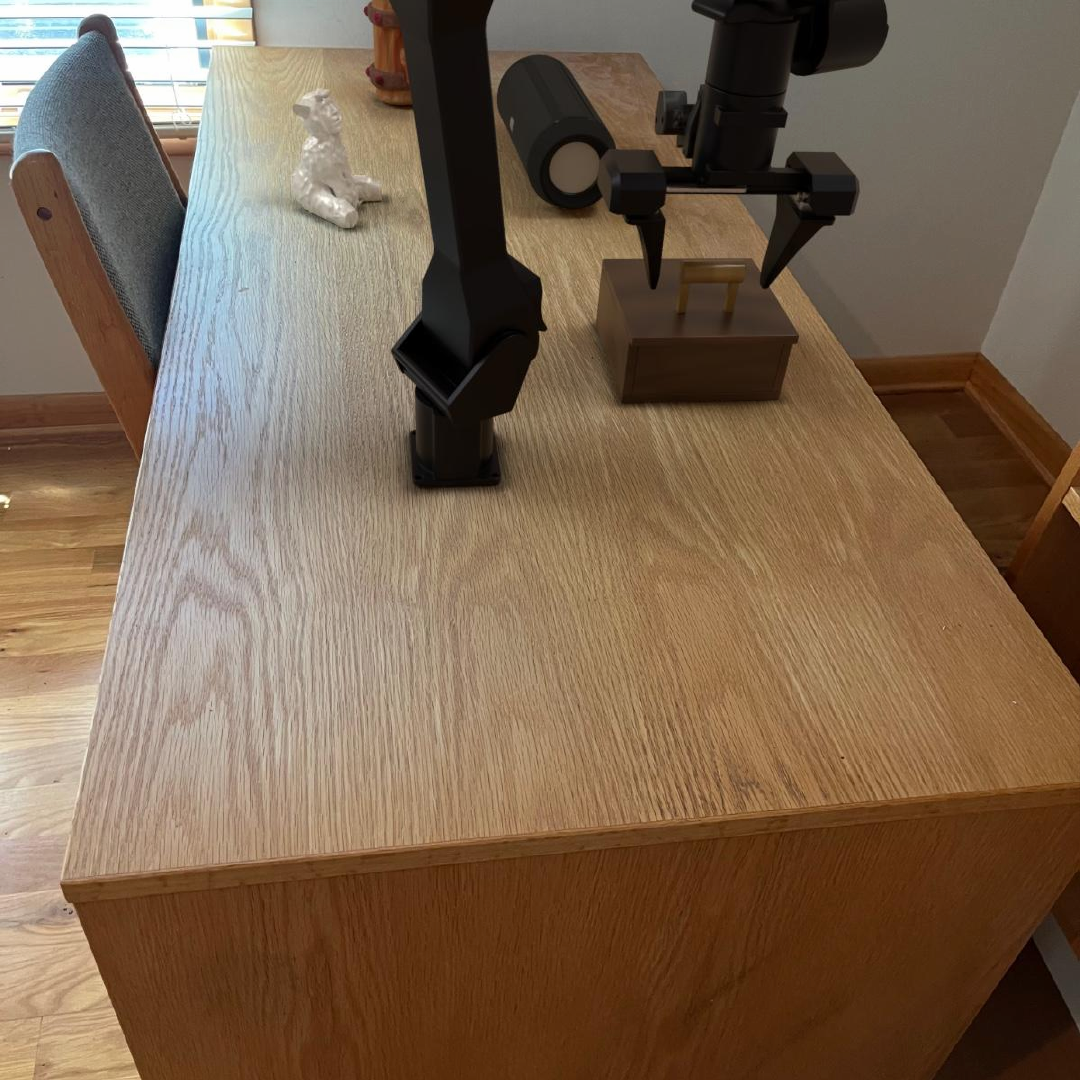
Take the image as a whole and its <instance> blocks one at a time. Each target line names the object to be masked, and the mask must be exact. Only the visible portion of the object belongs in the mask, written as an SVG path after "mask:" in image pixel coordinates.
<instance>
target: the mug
mask: <svg viewBox="0 0 1080 1080" xmlns="http://www.w3.org/2000/svg"><path fill="white" fill-rule="evenodd" d="M363 13H364V15H365V16H366V17H367V18H368V20H369V22H370V23H371V24H372V35H373V51H374V52H373V53H374V57H373V58H374V62H372V63H371V64H370V65H369V66H367V68H366V69H365V74H366V76H367V77H368V78H369V80H370V81H369V82H370V83H371V84H372V85H373V86H374V87H375V92H376V95H377V98H378V100H379V101H381V102H382V103H385V104H388V105H392V106H395V105H397V106H405V105H406V106H407V105H409V106H410V105H412V98H411V91H410V85H409V78H408V71H407V65H406V58H405V51H404V45H403V38H402V31H401V27H400V24H399V21H398V19H397V16H396V14H395V12H394V10H393V8H392V6H391V4H390V2H389V0H371V1H369V2H368V3H367V5H366V6H364V7H363Z"/></svg>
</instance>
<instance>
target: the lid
mask: <svg viewBox="0 0 1080 1080" xmlns="http://www.w3.org/2000/svg"><path fill="white" fill-rule="evenodd" d="M602 268H603V271H604V274H605V276H606V279H607V282H608V284H609V287H610V290H611V292H612V295H613V298H614V300H615V303H616V306H617V309H618V311H619V314H620V317H621V319H622V322H623V325H624V327H625V330H626V333H627V335H628V338H629V341H630V343H631V346H684V345H746V344H793V345H796V344H798V342H799V339H800V334H799V332H798V330H797V329H796V327H795V326H794V324H793V322H792V321H791V319H790V318H789V316H788V314H787V312H786V311H785V310H784V308H783V306H782V305H781V303H780V301H779V299H778V298H777V296H776V294H775V293H774V291H773V290H772V288H771V287H770V286H769V288H768V289H763V288H762V287H761V285H760V275H761V269H759V267H758V265H757V263H756V262H755V260H754V259H753V258H752V257H706V258H705V257H704V258H702V257H697V258H696V257H695V258H691V257H690V258H677V257H675V258H673V257H672V258H669V257H668V258H662V260H661V269H660V277H659V280H658V284H657V287H656V289H655V290H651V288H650V286H649V283H648V279H647V274H646V268H645V263H644V258H602V261H601V269H602Z"/></svg>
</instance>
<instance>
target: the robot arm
mask: <svg viewBox="0 0 1080 1080" xmlns="http://www.w3.org/2000/svg"><path fill="white" fill-rule="evenodd" d="M389 2H390V4H391V6H392V8H393V10H394V12H395V14H396V16H397V19H398V21H399V24H400V27H401V31H402V38H403V45H404V51H405V58H406V65H407V71H408V78H409V85H410V91H411V98H412V104H411V105H412V111H413V117H414V124H415V129H416V137H417V138H416V139H417V144H418V152H419V158H420V165H421V171H422V177H423V184H424V191H425V197H426V204H427V210H428V211H427V212H428V217H429V225H430V230H431V231H430V232H431V237H432V244H433V245H432V246H433V250H432V251H433V253H432V256H431V259H430V261H429V263H428V266H427V268H426V271H425V272H424V275H423V277H422V280H421V310H420V312H419V313H418V314H417V315H416V317H415V318H414V319H413V321H412V322H411V323H410V324H409V326H408V327H407V328H406V330H405V331H404V332H403V333H402V335H401V336H400V338H398V339H397V341H396V342H395V344H394V345H393V346H392V348H391V349H390V354H391V356H392V358H393V360H394V362H395V365H396V367H397V369H398V370H399V372H400V373H401V374H403V375H405V376H406V377H407V378H408V379H409V380H410V381H411V382H412V383H413V384H414V385H415V387H414V412H415V413H414V414H415V415H414V417H415V419H414V420H415V429H413V430H410V431H409V446H410V462H411V463H410V464H411V479H412V481H411V482H412V485H414V486H416V487H436V486H442V487H443V486H468V485H469V486H470V485H471V486H472V485H496V484H499V483H501V481H502V472H501V471H502V470H501V466H500V465H501V464H500V459H499V452H498V447H497V441H496V436H495V430H494V425H495V423H494V420H495V418H496V417H498V416H501V415H504V414H508V413H510V412H512V411H513V410H514V408H515V407H516V403H517V400H518V398H519V395H520V392H521V390H522V388H523V384H524V382H525V379H526V376H527V374H528V372H529V369H530V366H531V363H532V361H534V360H535V359H536V358H537V356H538V352H539V349H540V332H542V333H544V332H547V330H548V326H547V324H546V322H545V321H544V317H543V313H542V312H543V311H542V303H543V293H544V292H543V291H544V290H543V284H542V279H541V277H540V276H539V275H538V274H537V273H535V272H534V271H533V270H531V269H530V268H528V267H527V266H526V265H525V264H523V263H522V262H521V261H519V260H518V259H517V258H516V257H514V256H513V255H511V254H510V253H509V252H508V248H507V238H506V237H507V236H506V228H505V227H506V226H505V217H504V205H503V197H502V196H503V194H502V183H501V182H502V181H501V173H500V164H499V163H500V162H499V153H498V141H497V131H496V121H495V120H496V119H495V108H494V97H493V87H492V86H493V85H492V77H491V76H492V75H491V66H490V65H491V64H490V55H489V43H488V34H487V33H488V31H487V27H488V25H487V24H488V18H489V15H490V12H491V9H492V7H493V4H494V2H495V0H389ZM690 7H691V10H692V12H694V13H697V14H698V15H701V16H703V17H706V18H707V19H708V18H709V19H711V20H713V21H714V23H713V29H712V36H711V43H710V47H709V52H708V60H707V66H706V70H705V71H706V72H705V78H704V83H700V84H699V89H698V91H697V96H696V101H695V103H688V94H687V91H686V90H659V91H658V96H657V100H656V107H655V113H654V115H655V116H654V131H655V134H656V136H676V141H675V148H677V149H682V150H681V153H682V155H683V156H684V157H683V158H684V159H685V160H686V159H688V160H689V159H691V166H680V165H679V166H673V165H671V166H669V165H668V166H666V165H664V166H663V164H662V163H661V162H660V160H659V158H658V156H657V154H656V153H655V151H654V149H638V148H637V149H635V148H634V149H633V148H630V149H627V148H623V149H622V148H616V149H609V150H608V151H607V152H606V153H605V154H604V155H603V157H602V158H601V160H600V162H599V171H598V181H597V184H598V186H599V189H600V191H601V193H602V196H603V197H602V199H603V200H604V204H605V206H606V207H607V210H608V212H609V213H612V214H614V215H616V216H621V217H622V219H623V221H624V223H625V224H626V225H629V226H636V230H637V233H638V237H639V243H640V247H641V254H642V259H644V263H645V268H646V274H647V279H648V283H649V286H650V288H651V290H655V289H656V287H657V284H658V280H659V277H660V269H661V260H662V259H663V250H664V242H665V241H664V239H665V235H666V234H665V232H666V225H667V219H666V217H665V215H664V213H663V211H662V208H663V207H664V206H665V204H666V198H667V195H728V196H729V195H731V196H732V195H735V196H736V195H737V196H741V195H742V196H743V195H746V196H747V195H748V196H749V195H751V196H752V195H753V196H758V195H759V196H776V198H775V199H776V203H775V217H774V221H773V224H772V228H771V231H770V235H769V239H768V242H767V246H766V249H765V253H764V257H763V259H762V264H761V269H760V272H761V275H760V285H761V287H762V288H763V289H768V288H769V287H770V286H771V285H772V284H773V283H774V282H775V281H776V280H777V278H778V277H779V275H780V274H781V273H782V272H783V270H784V269H785V268H786V267H787V266H788V264H789V263H790V262H791V261H792V259H794V257H795V256H796V255H797V254H798V253H799V251H800V250H801V249H802V248H803V247H804V246H805V245H806V244H807V243H808V242H809V241H810V240H811V239H812V238H814V236H815V235H816V234H817V233H818V232H819V231H820V230H821V229H823V228H824V227H831V226H834V225H835V223H836V220H837V217H849V216H852V215H853V214H854V213H855V210H856V208H857V205H858V204H857V203H858V200H859V196H860V193H861V190H860V189H861V188H860V180H859V178H858V177H857V175H856V174H855V173H854V172H853V170H851V168H850V167H849V166H848V165H847V164H846V163H845V162H844V161H843V159H842V158H841V157H840V156H839V155H838V154H837V153H836V152H835V151H795V150H794V151H792V152H791V153H790V154H789V156H787V157H786V160H785V164H784V167H775V166H773V167H772V161H773V158H774V157H773V156H774V151H775V146H776V142H777V137H778V132H779V129H785V128H786V125H787V120H788V116H789V113H788V111H787V110H786V109H785V108H784V104H785V100H786V95H787V91H788V90H787V89H788V86H789V81H790V77H791V74H792V75H794V76H797V77H809V76H813V75H814V76H815V75H820V74H825V73H826V74H827V73H832V72H837V71H843V70H848V69H854V68H860V67H863V66H866V65H868V64H869V63H871V62H873V60H875V58H877V57H878V55H879V54H880V53H881V51H882V50H883V47H884V45H885V43H886V41H887V37H888V34H889V30H890V25H889V23H888V18H889V17H888V11H887V10H888V9H887V4H886V1H885V0H692V2H691V6H690Z"/></svg>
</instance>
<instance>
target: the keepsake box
mask: <svg viewBox="0 0 1080 1080" xmlns="http://www.w3.org/2000/svg"><path fill="white" fill-rule="evenodd" d="M595 328H596V331H597V334H598V338H599V340H600V343H601V346H602V349H603V353H604V355H605V359H606V361H607V362H606V363H607V364H608V368H609V371H610V374H611V377H612V379H613V383H614V385H615V389H616V392H617V395H618V398H619V401H620V403H621V404H640V403H641V404H645V403H683V402H684V403H686V402H688V403H689V402H725V401H726V402H728V401H764V400H765V401H768V400H769V401H770V400H773V401H774V400H779V399H780V396H781V391H782V388H783V384H784V380H785V376H786V372H787V368H788V364H789V360H790V357H791V352H792V348H793V345H794V344H746V345H684V346H631V343H630V341H629V338H628V335H627V333H626V330H625V327H624V325H623V322H622V319H621V317H620V314H619V311H618V309H617V306H616V303H615V300H614V298H613V295H612V292H611V290H610V287H609V284H608V282H607V279H606V276H605V274H604V271H603V268H602V267H601V271H600V279H599V289H598V299H597V308H596V318H595Z"/></svg>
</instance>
